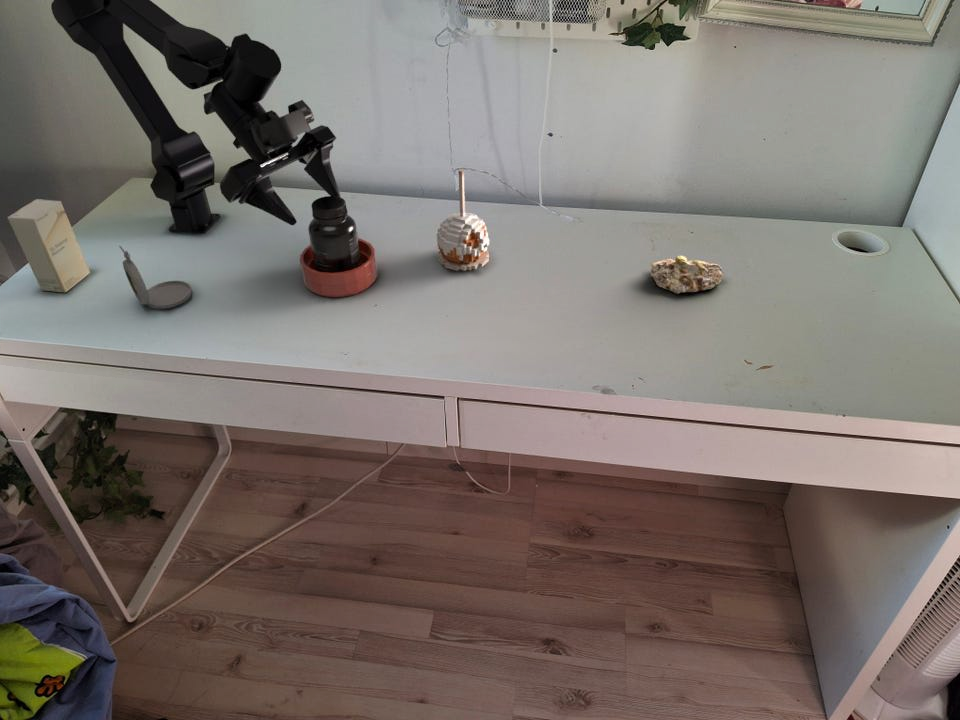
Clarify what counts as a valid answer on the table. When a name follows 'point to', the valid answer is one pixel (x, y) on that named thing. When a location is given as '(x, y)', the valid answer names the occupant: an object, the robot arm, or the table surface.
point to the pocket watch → (155, 288)
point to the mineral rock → (686, 275)
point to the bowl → (340, 274)
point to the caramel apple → (463, 238)
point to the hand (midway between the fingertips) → (317, 210)
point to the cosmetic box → (49, 245)
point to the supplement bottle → (333, 236)
